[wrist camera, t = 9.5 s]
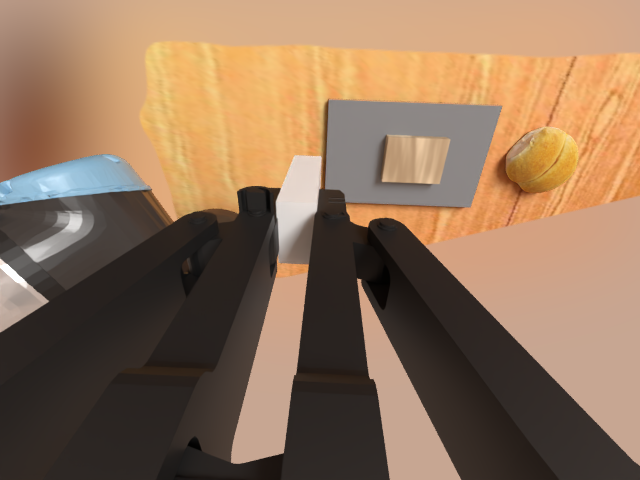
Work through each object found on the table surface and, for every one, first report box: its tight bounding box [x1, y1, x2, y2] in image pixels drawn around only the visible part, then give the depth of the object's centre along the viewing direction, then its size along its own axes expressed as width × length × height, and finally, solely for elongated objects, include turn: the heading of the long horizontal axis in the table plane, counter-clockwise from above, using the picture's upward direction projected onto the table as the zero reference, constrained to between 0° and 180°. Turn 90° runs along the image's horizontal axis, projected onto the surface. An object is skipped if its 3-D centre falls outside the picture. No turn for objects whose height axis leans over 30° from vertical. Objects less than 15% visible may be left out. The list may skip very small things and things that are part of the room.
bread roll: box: [506, 127, 578, 193], centre depth 40 cm, size 8×9×4 cm
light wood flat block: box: [381, 135, 451, 184], centre depth 40 cm, size 2×6×8 cm
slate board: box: [325, 99, 502, 207], centre depth 42 cm, size 22×14×1 cm, turn 88°
